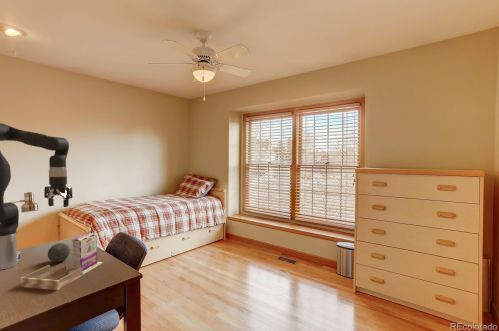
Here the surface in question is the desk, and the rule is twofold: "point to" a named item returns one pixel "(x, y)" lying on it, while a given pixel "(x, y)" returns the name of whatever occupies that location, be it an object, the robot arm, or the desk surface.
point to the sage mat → (89, 268)
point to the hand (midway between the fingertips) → (58, 206)
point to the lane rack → (49, 278)
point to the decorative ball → (58, 252)
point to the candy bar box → (84, 251)
